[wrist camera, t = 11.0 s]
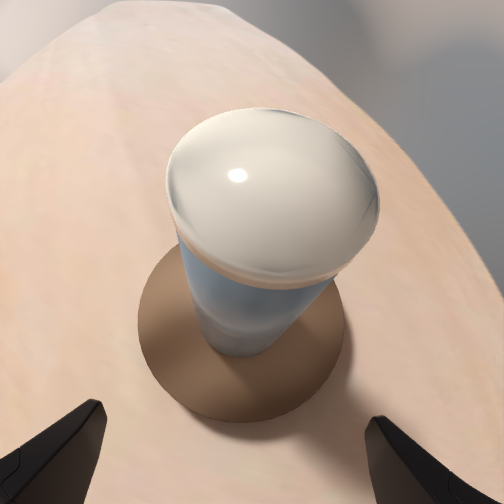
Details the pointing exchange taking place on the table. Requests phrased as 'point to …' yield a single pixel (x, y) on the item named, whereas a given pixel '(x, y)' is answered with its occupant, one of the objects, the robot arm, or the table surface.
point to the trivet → (231, 368)
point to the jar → (265, 220)
